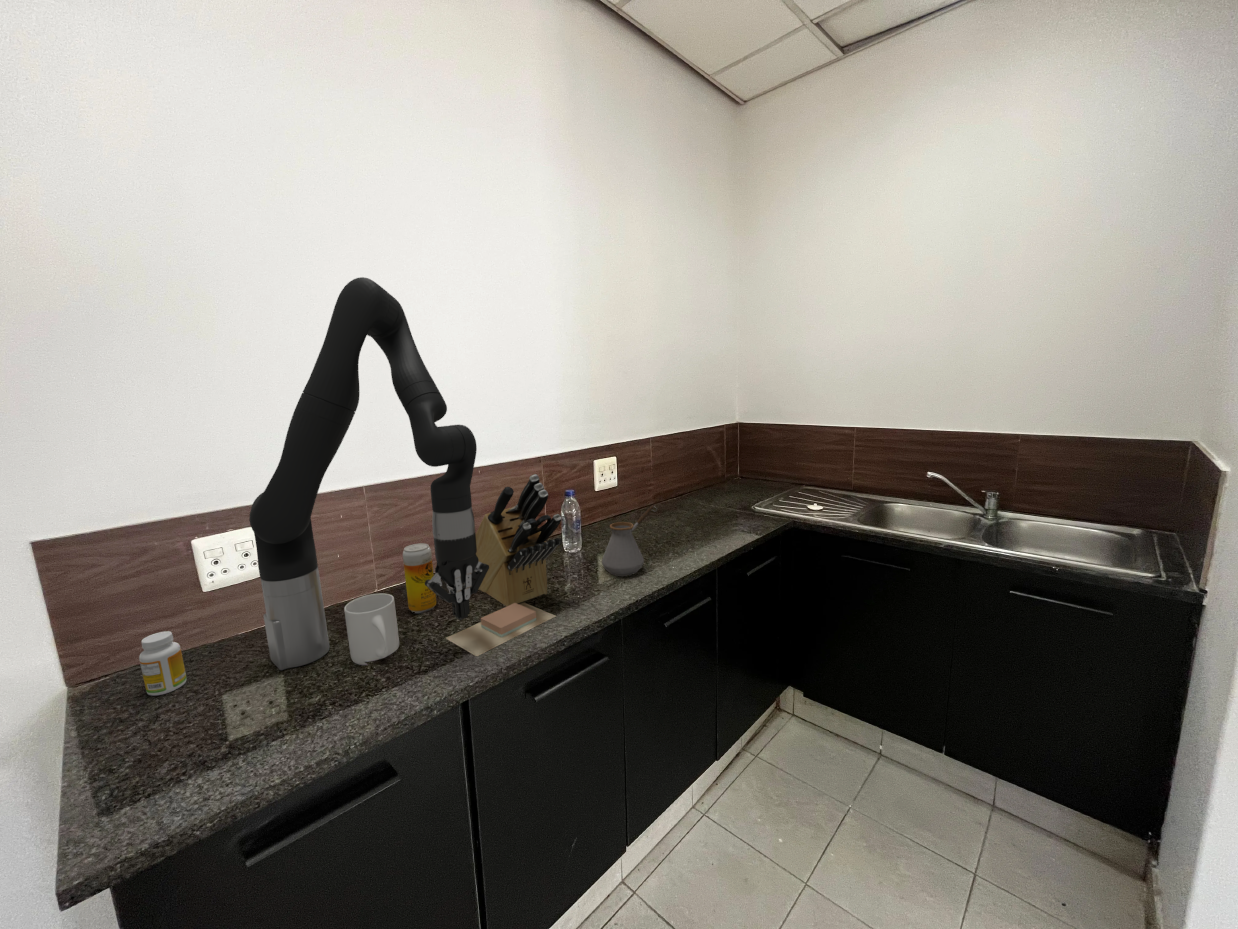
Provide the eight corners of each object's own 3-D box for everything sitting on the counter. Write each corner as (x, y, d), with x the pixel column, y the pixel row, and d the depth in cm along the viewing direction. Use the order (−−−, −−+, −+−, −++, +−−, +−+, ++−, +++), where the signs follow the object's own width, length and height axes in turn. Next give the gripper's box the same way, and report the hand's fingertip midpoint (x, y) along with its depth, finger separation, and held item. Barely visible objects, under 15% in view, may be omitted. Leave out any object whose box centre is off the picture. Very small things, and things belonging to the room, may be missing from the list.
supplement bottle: (183, 674, 92) (173, 626, 91) (190, 685, 89) (180, 634, 87) (144, 689, 88) (133, 638, 87) (149, 700, 85) (138, 648, 83)
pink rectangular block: (500, 628, 99) (535, 611, 106) (480, 618, 104) (515, 602, 111) (501, 637, 100) (536, 620, 106) (481, 627, 104) (515, 611, 111)
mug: (363, 680, 89) (356, 624, 87) (346, 654, 97) (339, 603, 96) (412, 661, 94) (406, 608, 92) (391, 638, 103) (386, 589, 101)
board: (477, 661, 93) (476, 656, 93) (445, 642, 100) (445, 638, 100) (556, 620, 108) (556, 616, 108) (524, 606, 115) (523, 602, 115)
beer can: (427, 615, 113) (420, 552, 110) (403, 613, 114) (396, 551, 111) (441, 603, 118) (435, 543, 116) (419, 602, 120) (412, 542, 117)
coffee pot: (627, 582, 127) (625, 526, 124) (593, 573, 134) (590, 519, 131) (672, 557, 143) (671, 507, 141) (639, 550, 150) (638, 502, 148)
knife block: (528, 626, 106) (518, 484, 101) (458, 580, 132) (447, 465, 127) (571, 609, 113) (564, 476, 108) (497, 568, 139) (488, 459, 134)
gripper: (431, 545, 86) (440, 637, 89) (495, 526, 96) (501, 610, 99) (410, 537, 91) (419, 625, 94) (473, 520, 101) (480, 600, 104)
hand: (462, 617), depth 96 cm, fingers closed
